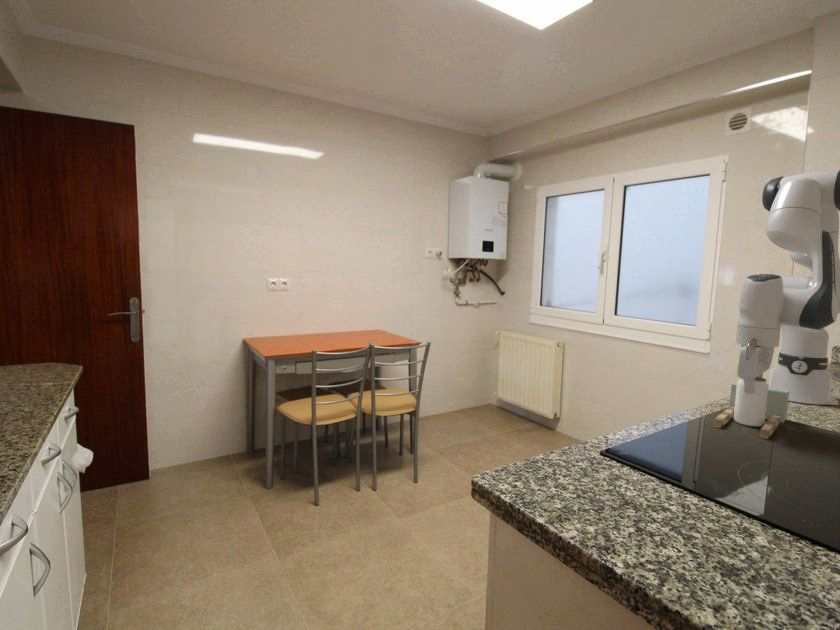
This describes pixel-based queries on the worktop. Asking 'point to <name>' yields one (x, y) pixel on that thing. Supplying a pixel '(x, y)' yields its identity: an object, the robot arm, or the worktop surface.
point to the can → (751, 403)
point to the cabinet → (770, 402)
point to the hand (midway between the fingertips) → (752, 390)
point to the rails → (764, 431)
